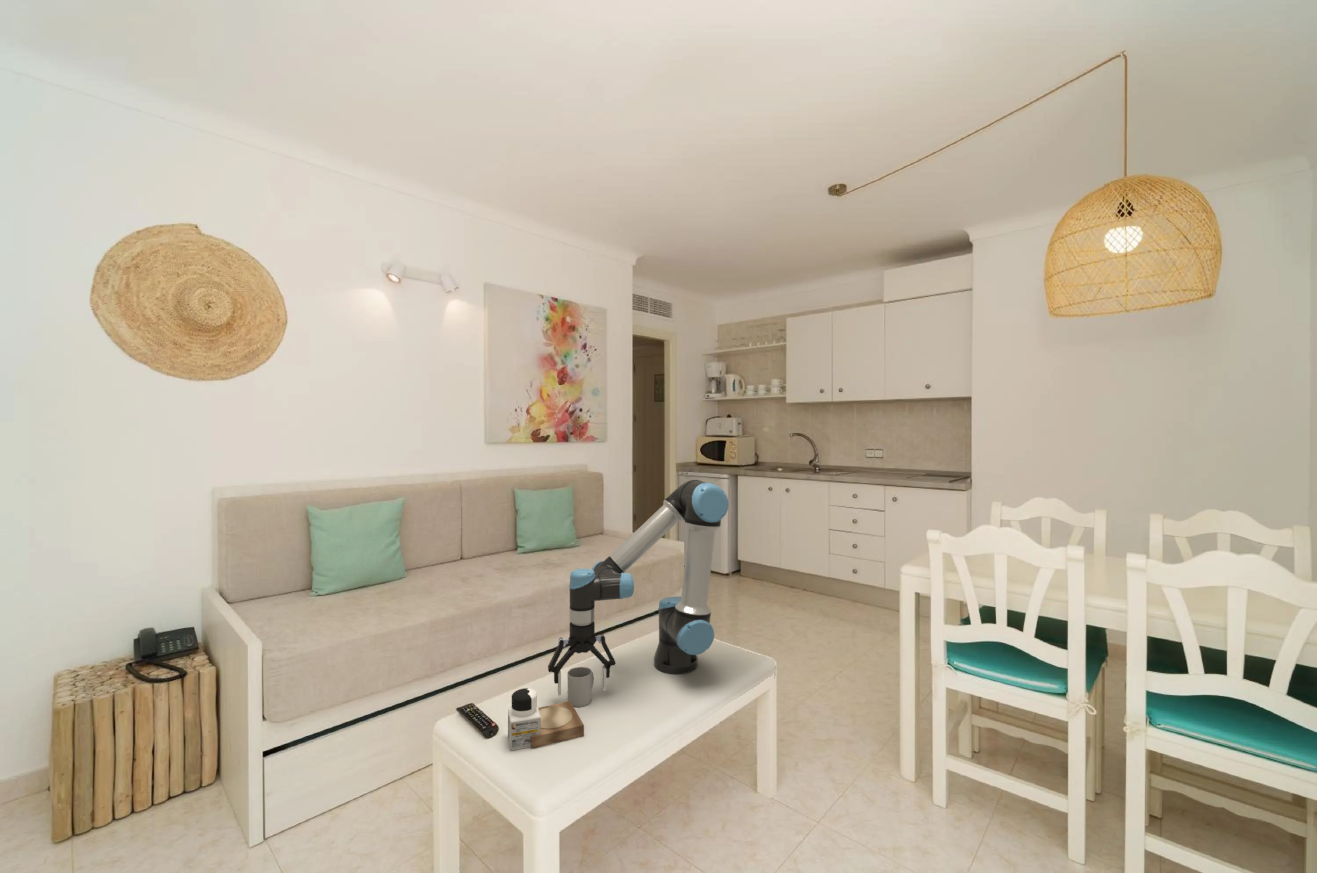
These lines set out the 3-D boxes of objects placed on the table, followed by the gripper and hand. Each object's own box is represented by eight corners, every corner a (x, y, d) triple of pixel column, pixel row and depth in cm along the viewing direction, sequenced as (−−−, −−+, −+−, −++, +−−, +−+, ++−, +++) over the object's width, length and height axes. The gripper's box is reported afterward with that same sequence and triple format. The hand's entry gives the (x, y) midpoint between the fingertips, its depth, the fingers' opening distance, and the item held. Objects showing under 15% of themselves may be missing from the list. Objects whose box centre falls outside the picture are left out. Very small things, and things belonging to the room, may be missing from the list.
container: (510, 751, 142) (510, 700, 142) (507, 735, 150) (508, 687, 150) (540, 745, 145) (541, 696, 145) (536, 730, 152) (537, 683, 152)
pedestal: (570, 711, 162) (570, 699, 162) (584, 735, 149) (583, 723, 149) (521, 722, 156) (521, 710, 156) (531, 748, 143) (531, 736, 143)
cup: (562, 703, 166) (562, 674, 166) (583, 689, 175) (583, 661, 175) (581, 710, 163) (581, 680, 162) (602, 695, 171) (601, 666, 171)
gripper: (620, 613, 175) (620, 680, 175) (539, 620, 169) (539, 689, 169) (625, 622, 167) (624, 691, 168) (540, 629, 161) (540, 701, 162)
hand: (582, 690), depth 169 cm, fingers open, 13 cm apart
